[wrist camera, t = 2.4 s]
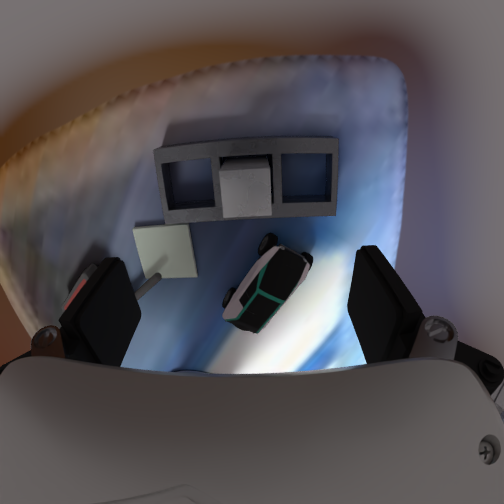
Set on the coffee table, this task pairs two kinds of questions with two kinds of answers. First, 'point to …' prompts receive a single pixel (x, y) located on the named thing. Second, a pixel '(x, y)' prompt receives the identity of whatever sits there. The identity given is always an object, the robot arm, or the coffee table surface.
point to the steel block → (246, 186)
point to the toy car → (266, 285)
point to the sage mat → (166, 250)
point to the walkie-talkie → (90, 271)
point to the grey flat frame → (248, 146)
